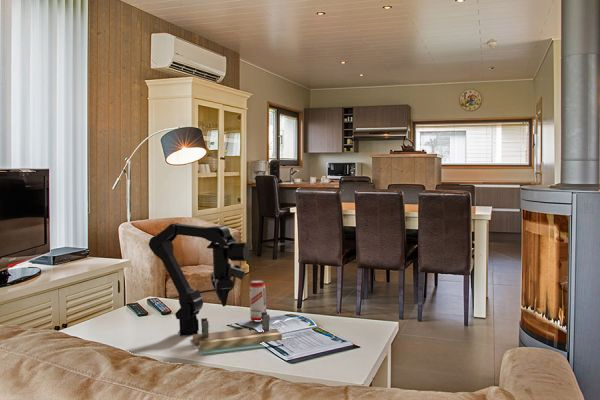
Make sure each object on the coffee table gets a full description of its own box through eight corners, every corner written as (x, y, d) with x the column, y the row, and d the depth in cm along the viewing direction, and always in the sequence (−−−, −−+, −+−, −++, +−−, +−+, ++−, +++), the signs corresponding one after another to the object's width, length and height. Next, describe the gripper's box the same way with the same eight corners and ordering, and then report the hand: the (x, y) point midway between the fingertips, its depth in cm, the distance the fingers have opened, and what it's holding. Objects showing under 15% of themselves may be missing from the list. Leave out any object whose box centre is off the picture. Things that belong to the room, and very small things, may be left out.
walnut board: (195, 345, 184) (194, 341, 184) (193, 338, 192) (192, 334, 191) (279, 335, 192) (279, 331, 192) (274, 329, 200) (273, 325, 200)
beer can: (264, 323, 209) (262, 282, 208) (248, 322, 210) (247, 282, 209) (268, 318, 215) (266, 279, 214) (253, 318, 216) (251, 279, 215)
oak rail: (200, 350, 177) (200, 343, 177) (199, 348, 179) (199, 341, 179) (281, 340, 185) (281, 334, 184) (280, 338, 187) (280, 332, 187)
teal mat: (201, 355, 174) (201, 353, 174) (198, 347, 182) (198, 345, 182) (284, 345, 181) (284, 343, 181) (277, 337, 190) (277, 336, 190)
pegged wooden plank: (203, 339, 186) (202, 322, 186) (201, 335, 191) (201, 318, 190) (270, 331, 193) (269, 315, 193) (267, 327, 197) (266, 311, 197)
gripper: (247, 263, 186) (249, 307, 187) (238, 255, 204) (239, 295, 205) (215, 265, 183) (217, 310, 184) (209, 257, 201) (210, 298, 202)
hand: (222, 303), depth 194 cm, fingers open, 9 cm apart
